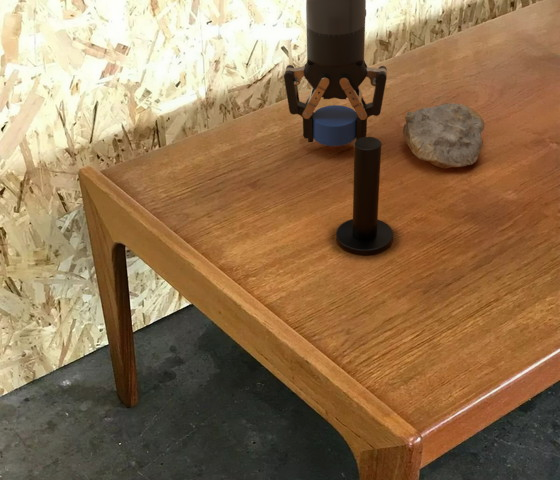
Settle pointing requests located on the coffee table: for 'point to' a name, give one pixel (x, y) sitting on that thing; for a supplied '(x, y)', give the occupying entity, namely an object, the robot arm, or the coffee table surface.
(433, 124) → the fossil
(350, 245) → the post stand
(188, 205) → the coffee table surface
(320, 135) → the disc
